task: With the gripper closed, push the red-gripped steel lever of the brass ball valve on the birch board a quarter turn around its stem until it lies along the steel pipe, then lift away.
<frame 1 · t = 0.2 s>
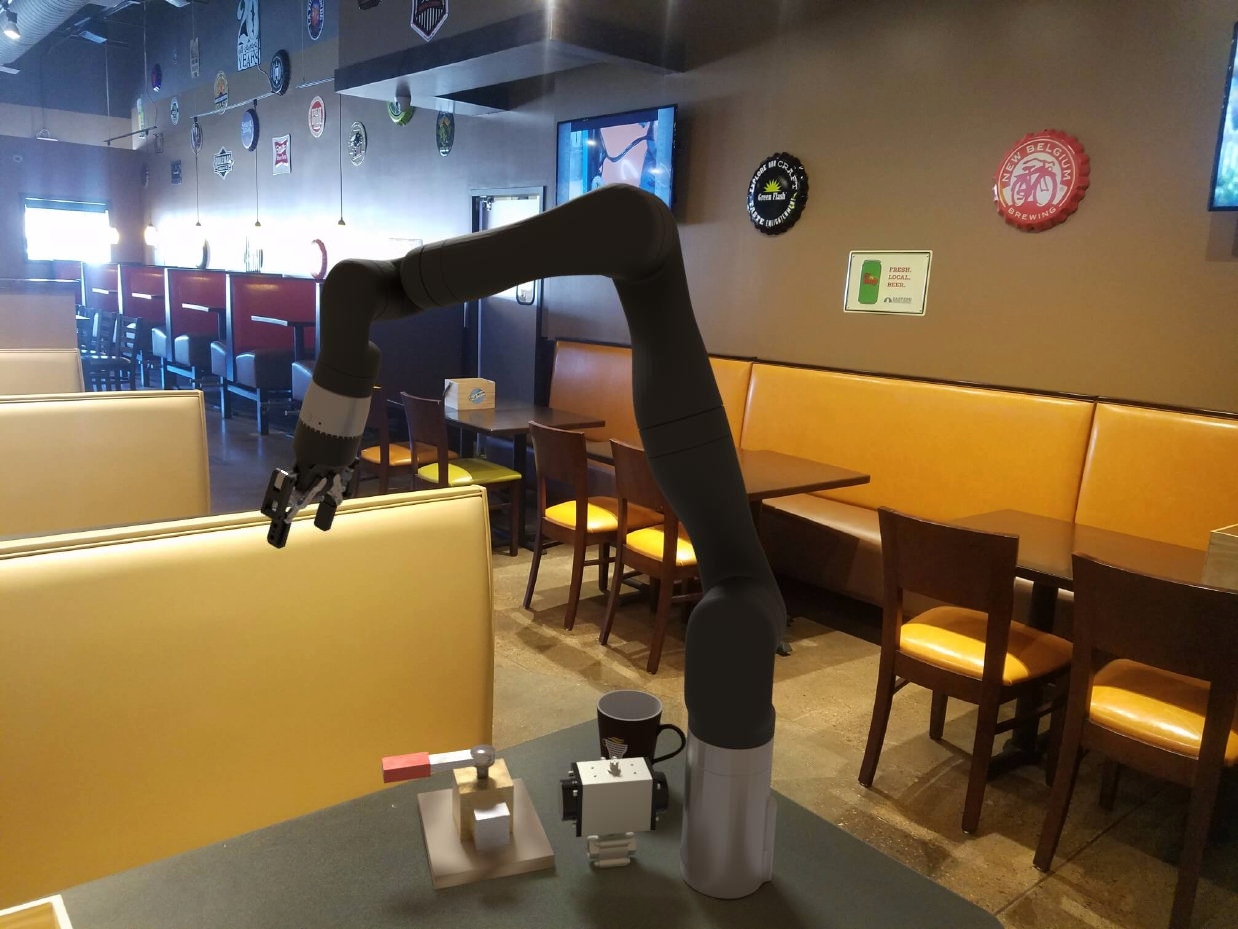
hand: (299, 536, 109), 31 cm above the table, tool tilted 20°, fingers open, 8 cm apart
mounting board: (482, 834, 101), on the table
coffee mug: (633, 781, 113), on the table
valve: (482, 793, 100), on the mounting board, point 5 cm above the table
lever: (440, 762, 97), point 10 cm above the table, hinge at 0.0°
pneumatic valve: (609, 858, 98), on the table
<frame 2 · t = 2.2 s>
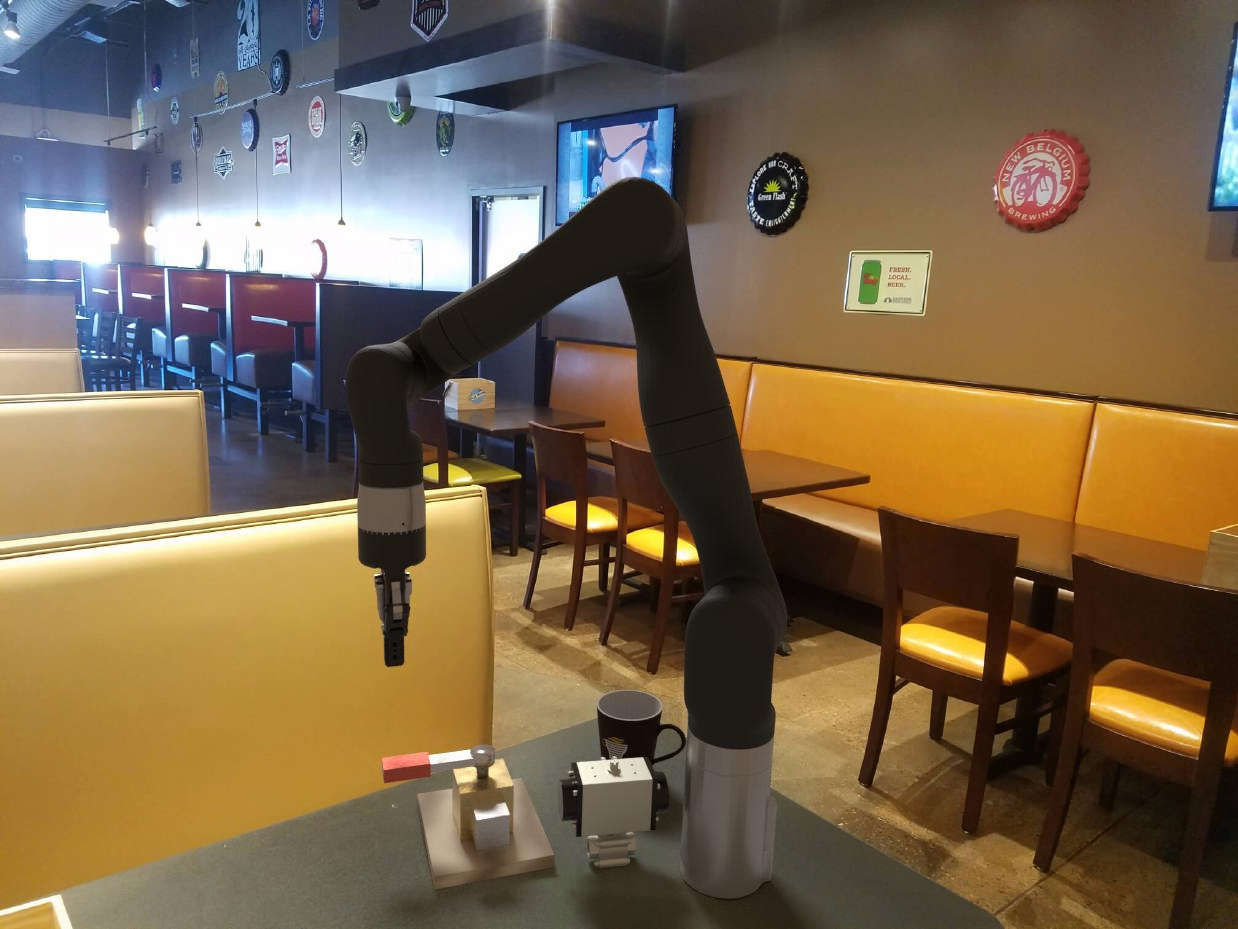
hand: (394, 663, 102), 19 cm above the table, tool pointing down, fingers closed
nothing on the table moved.
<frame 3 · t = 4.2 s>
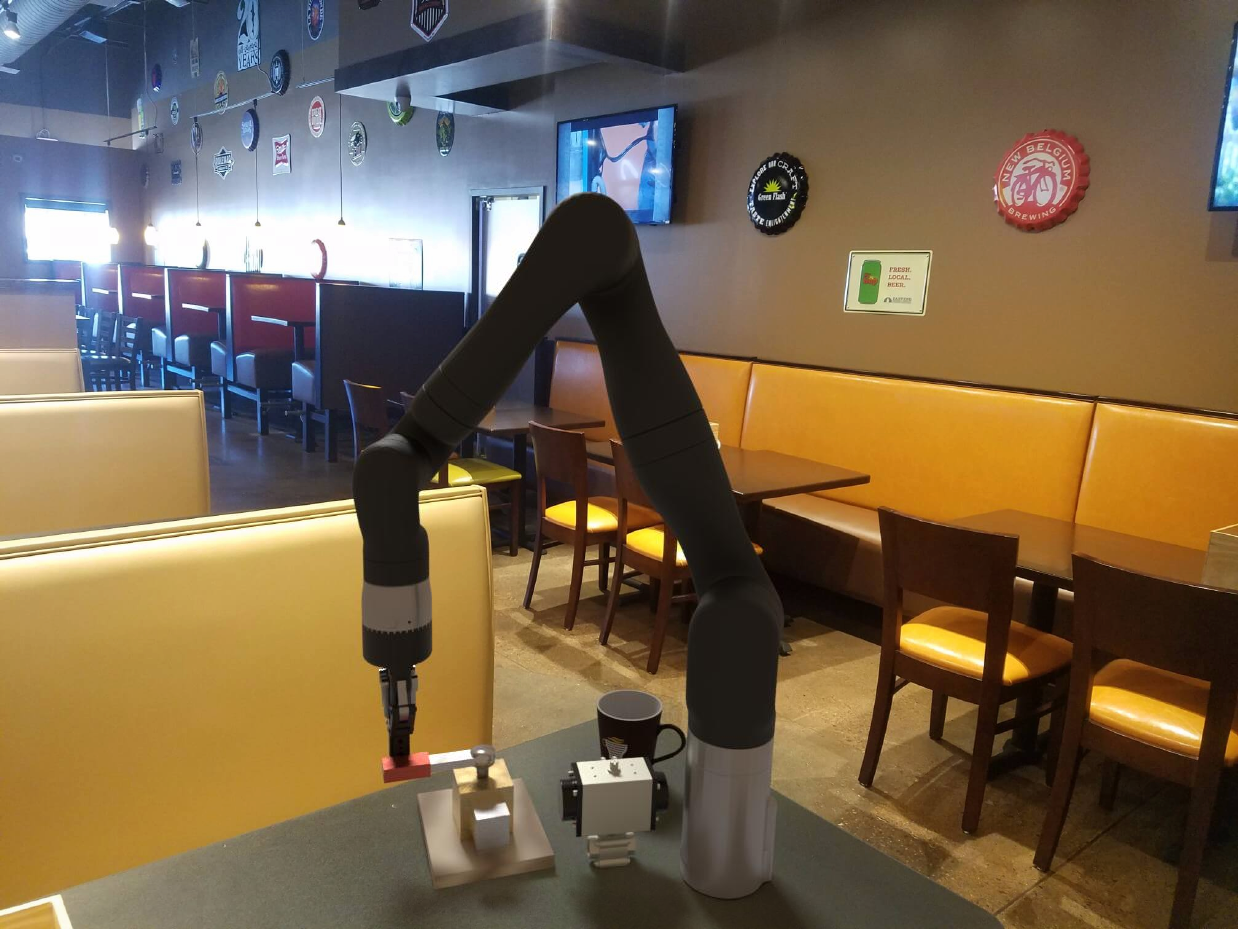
hand: (399, 759, 99), 9 cm above the table, tool pointing down, fingers closed
lever: (440, 762, 97), point 10 cm above the table, hinge at 0.0°, touching gripper
everything else where it was.
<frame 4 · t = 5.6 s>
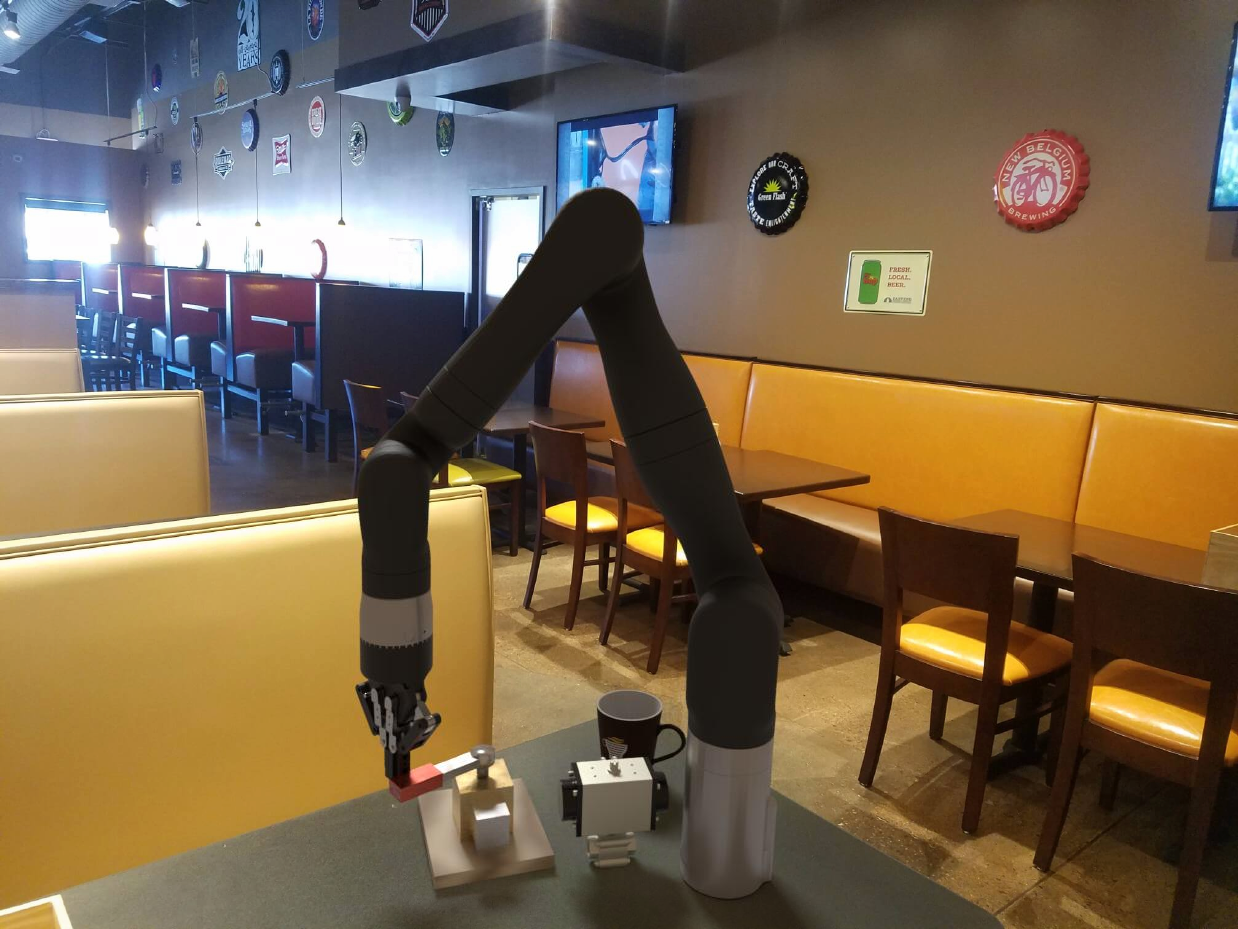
hand: (397, 777, 95), 9 cm above the table, tool pointing down, fingers closed
lever: (446, 770, 96), point 10 cm above the table, hinge at 23.5°, touching gripper
everything else where it was.
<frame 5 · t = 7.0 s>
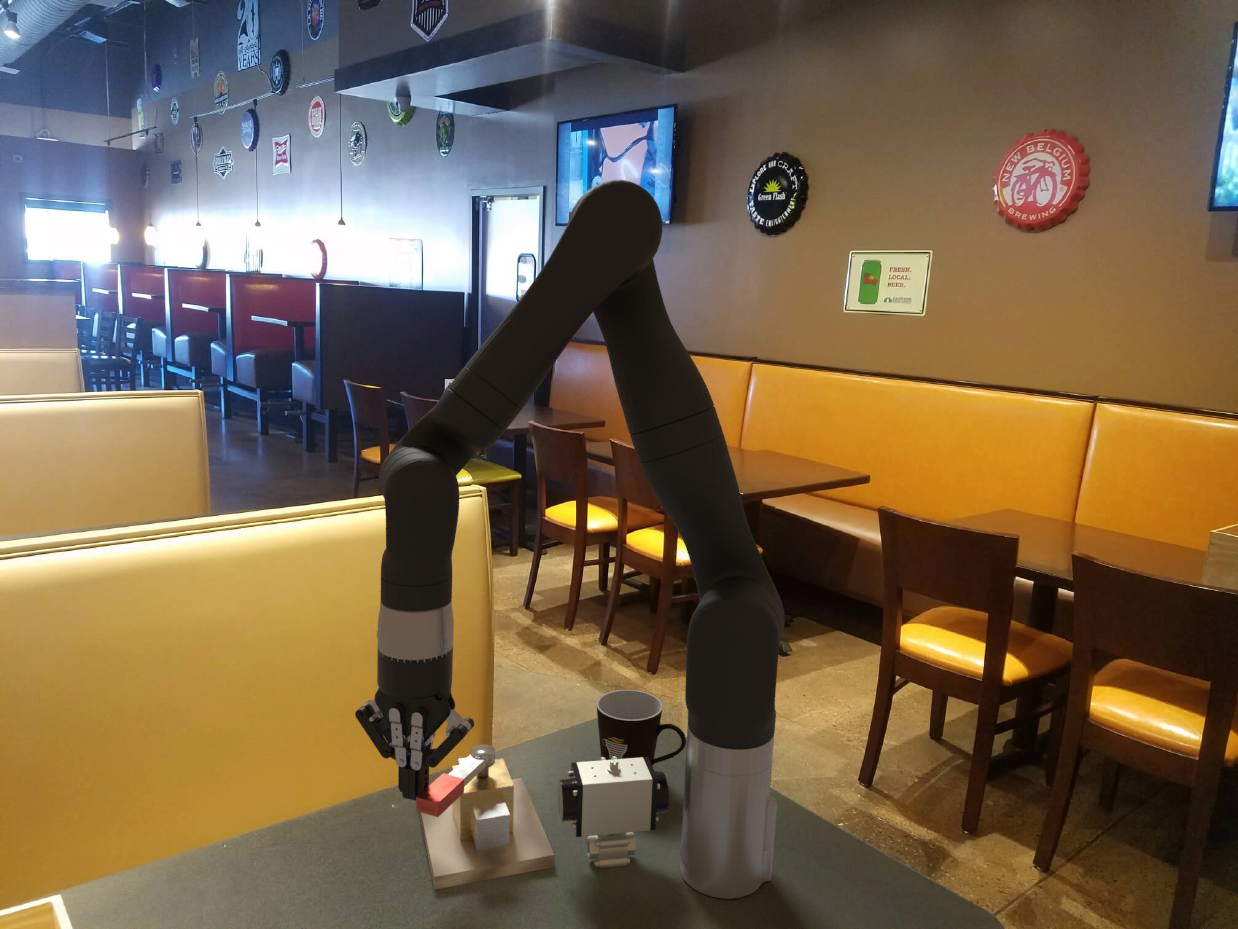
hand: (413, 795, 92), 9 cm above the table, tool pointing down, fingers closed
lever: (459, 777, 95), point 10 cm above the table, hinge at 48.9°, touching gripper
everything else where it was.
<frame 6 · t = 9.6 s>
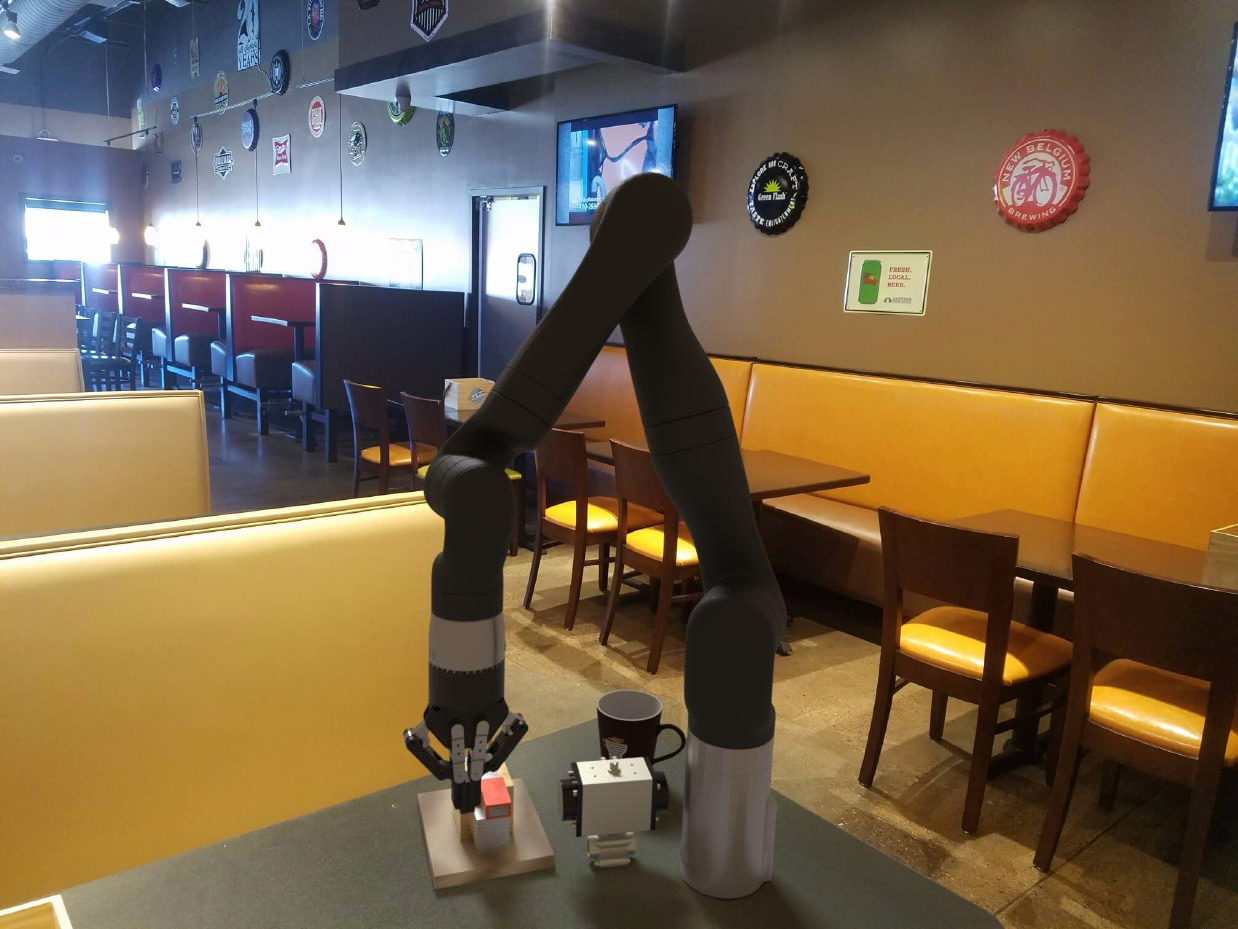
hand: (465, 809, 90), 9 cm above the table, tool pointing down, fingers closed
lever: (489, 779, 94), point 10 cm above the table, hinge at 88.1°
everything else where it was.
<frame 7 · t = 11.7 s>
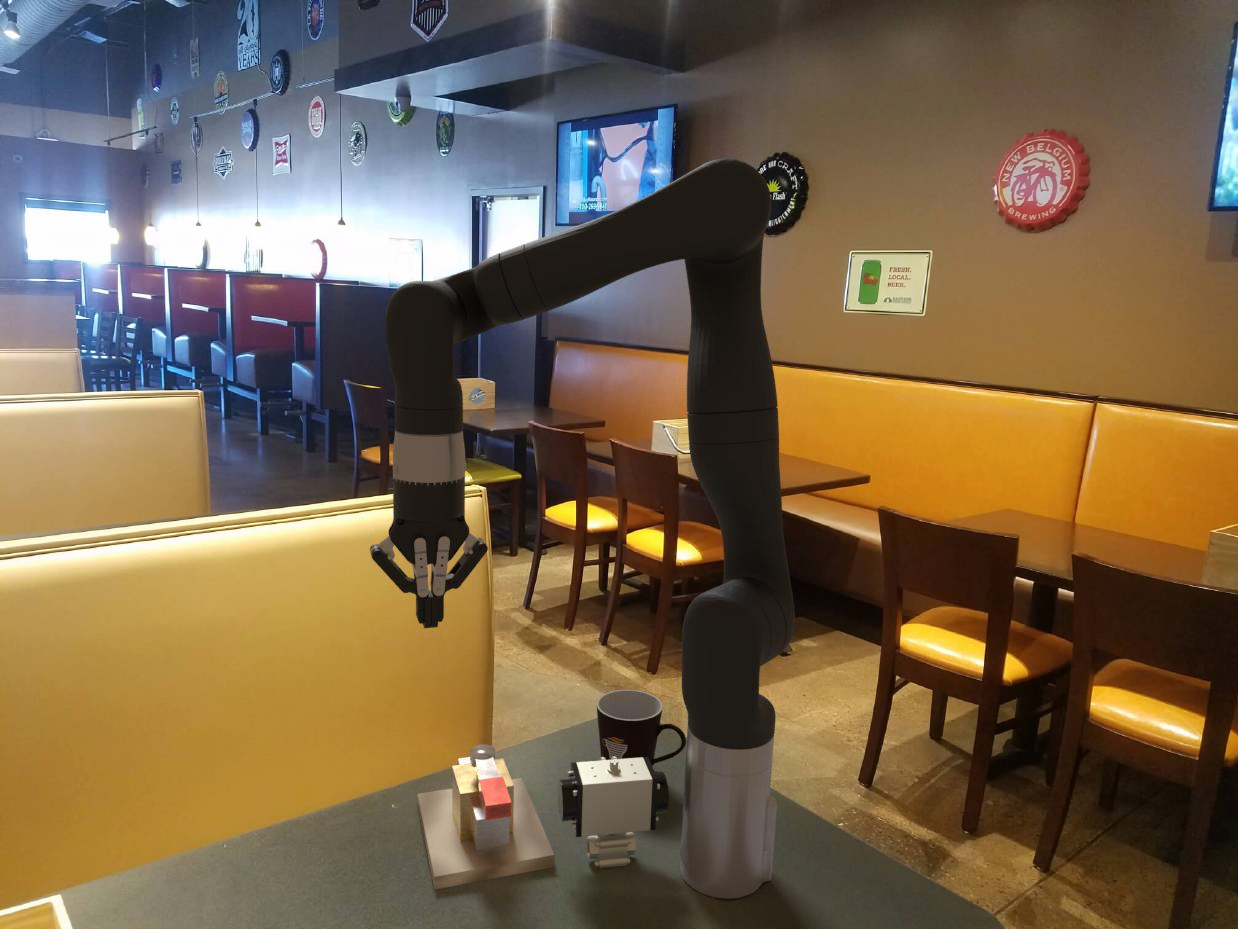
hand: (429, 625, 96), 26 cm above the table, tool pointing down, fingers closed
nothing on the table moved.
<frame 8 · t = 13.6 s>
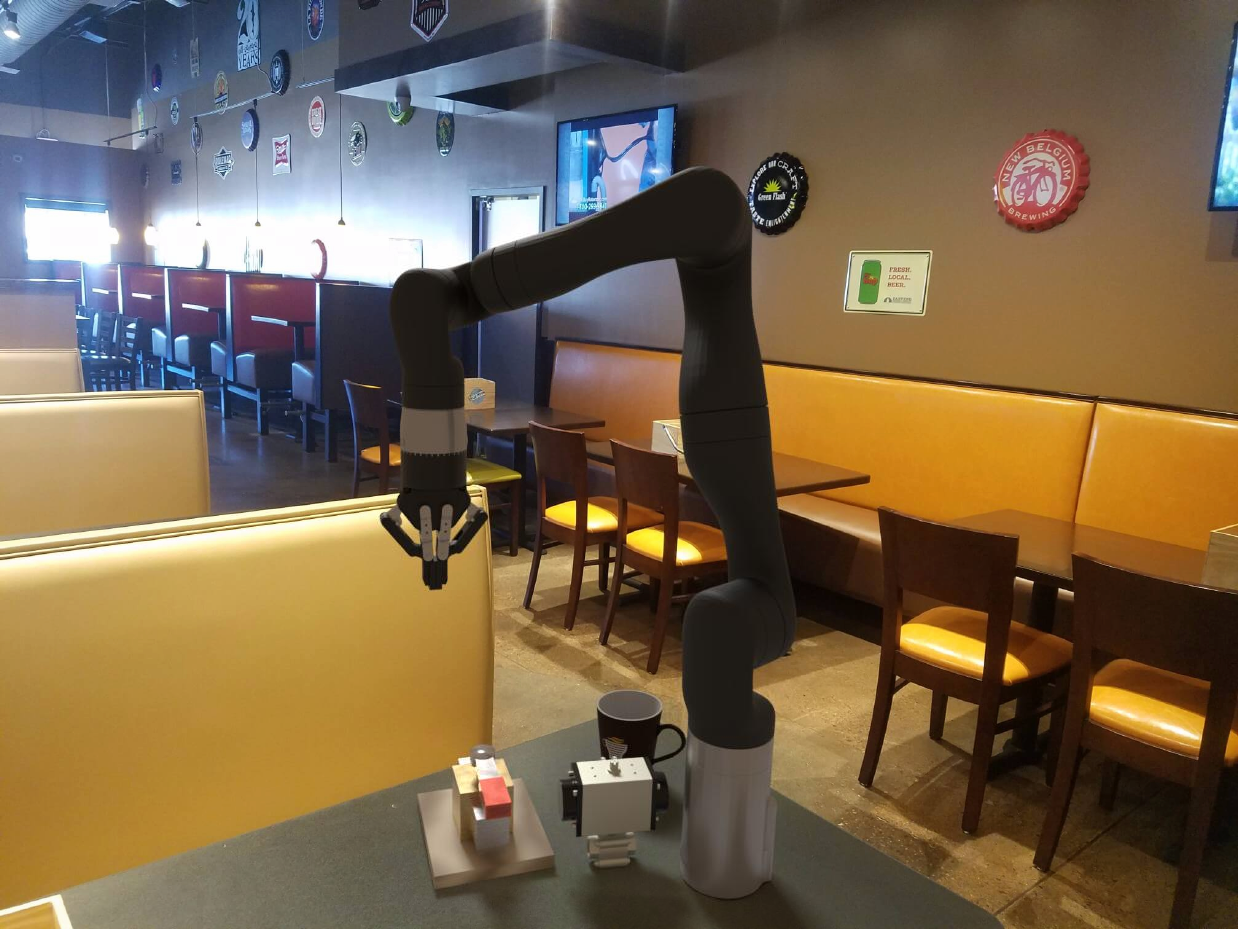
hand: (434, 587, 104), 27 cm above the table, tool pointing down, fingers closed
nothing on the table moved.
at the end: lever at +88° (first picture: +0°); pneumatic valve moved 0.2 cm from its start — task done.
